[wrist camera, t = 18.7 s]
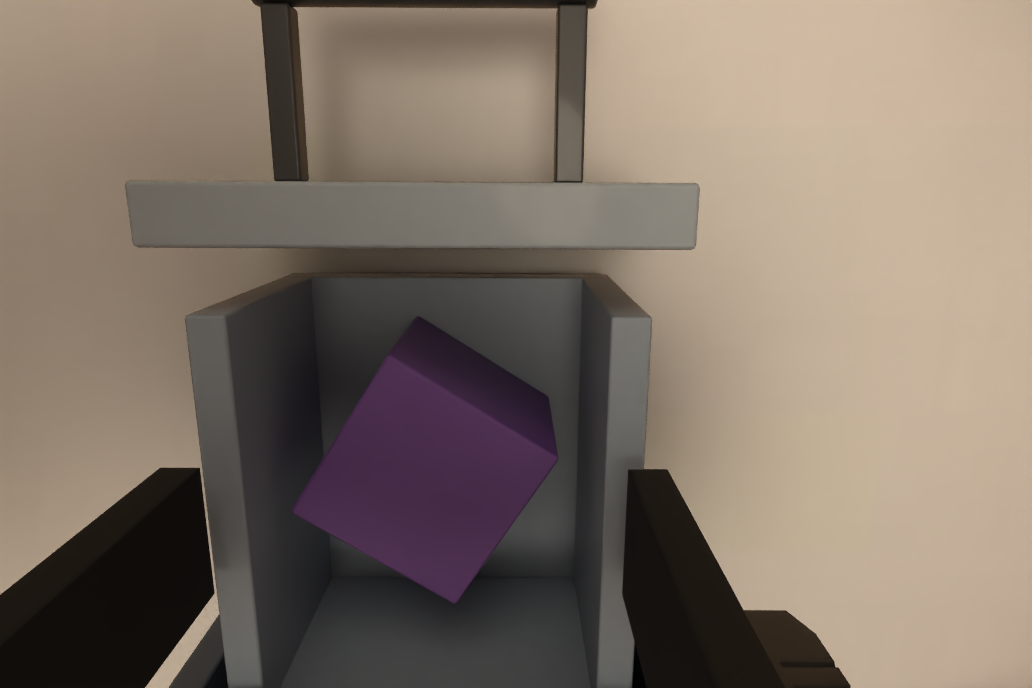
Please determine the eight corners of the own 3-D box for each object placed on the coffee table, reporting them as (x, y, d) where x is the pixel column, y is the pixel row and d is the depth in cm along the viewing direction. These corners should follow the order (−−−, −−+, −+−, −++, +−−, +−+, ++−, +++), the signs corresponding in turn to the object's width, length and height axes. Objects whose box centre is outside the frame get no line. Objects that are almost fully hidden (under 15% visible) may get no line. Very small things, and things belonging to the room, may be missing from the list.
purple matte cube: (340, 439, 19) (288, 513, 15) (417, 314, 18) (387, 354, 14) (468, 514, 20) (455, 606, 15) (549, 396, 19) (560, 459, 14)
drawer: (247, -10, 17) (80, -132, 11) (643, -8, 17) (722, -129, 11) (297, 577, 21) (198, 754, 15) (615, 578, 21) (661, 755, 15)
